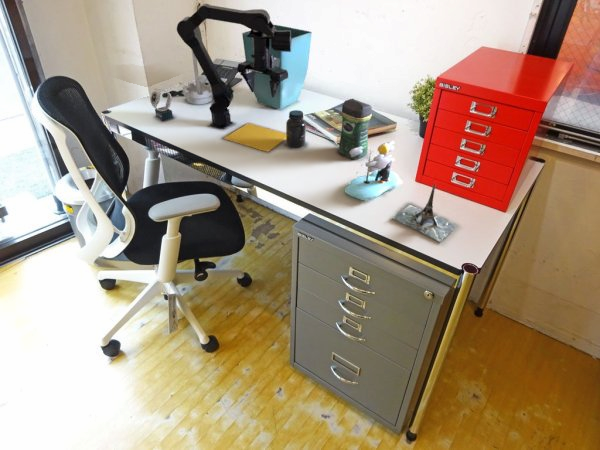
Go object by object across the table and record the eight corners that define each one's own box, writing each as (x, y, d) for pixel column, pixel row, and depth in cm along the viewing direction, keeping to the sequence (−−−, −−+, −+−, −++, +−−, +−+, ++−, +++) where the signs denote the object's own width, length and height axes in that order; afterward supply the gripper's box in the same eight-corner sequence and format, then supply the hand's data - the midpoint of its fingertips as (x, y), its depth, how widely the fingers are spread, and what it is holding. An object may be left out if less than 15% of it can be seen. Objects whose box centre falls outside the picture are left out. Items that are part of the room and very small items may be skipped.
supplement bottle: (306, 148, 155) (307, 116, 147) (286, 149, 154) (286, 117, 147) (304, 140, 160) (304, 108, 153) (285, 140, 159) (285, 109, 152)
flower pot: (274, 90, 199) (273, 23, 182) (310, 100, 190) (312, 31, 173) (245, 103, 186) (240, 32, 169) (282, 115, 177) (281, 41, 160)
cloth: (224, 138, 160) (224, 137, 160) (248, 124, 170) (248, 123, 170) (267, 152, 152) (267, 151, 152) (290, 135, 163) (290, 134, 162)
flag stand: (182, 95, 193) (171, 21, 174) (212, 92, 196) (204, 20, 178) (185, 106, 183) (174, 30, 165) (217, 103, 186) (209, 28, 168)
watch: (151, 118, 173) (146, 90, 166) (170, 112, 178) (165, 85, 171) (158, 122, 170) (153, 94, 163) (177, 117, 174) (172, 89, 168)
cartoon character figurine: (384, 171, 143) (390, 128, 134) (408, 185, 136) (417, 141, 127) (337, 190, 134) (340, 145, 124) (360, 206, 127) (366, 160, 118)
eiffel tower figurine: (390, 219, 122) (398, 178, 114) (409, 204, 128) (418, 164, 120) (440, 243, 114) (451, 200, 106) (457, 226, 120) (469, 184, 112)
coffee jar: (370, 154, 152) (377, 103, 141) (355, 162, 148) (360, 109, 136) (350, 145, 157) (354, 94, 146) (334, 151, 153) (338, 100, 142)
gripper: (296, 49, 153) (296, 93, 163) (253, 41, 161) (255, 83, 170) (279, 57, 146) (279, 102, 155) (234, 48, 153) (237, 91, 163)
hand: (263, 94), depth 161 cm, fingers open, 9 cm apart
